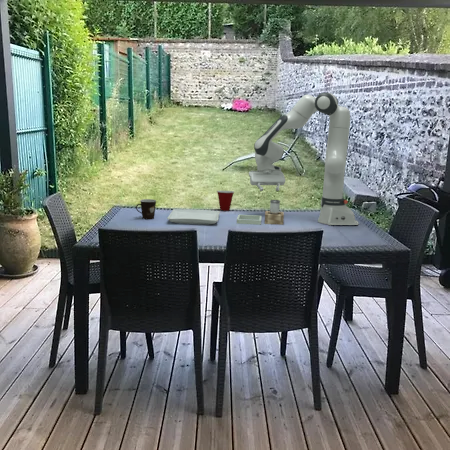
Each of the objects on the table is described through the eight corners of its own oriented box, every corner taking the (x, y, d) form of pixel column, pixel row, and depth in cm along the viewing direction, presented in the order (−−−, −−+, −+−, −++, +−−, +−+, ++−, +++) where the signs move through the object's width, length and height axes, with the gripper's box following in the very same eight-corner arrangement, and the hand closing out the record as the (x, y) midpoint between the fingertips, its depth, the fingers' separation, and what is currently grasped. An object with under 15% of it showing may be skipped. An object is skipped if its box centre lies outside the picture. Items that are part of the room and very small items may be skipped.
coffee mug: (154, 216, 288) (154, 199, 285) (157, 219, 280) (157, 201, 278) (133, 217, 284) (133, 199, 282) (136, 220, 276) (136, 202, 274)
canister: (278, 221, 281) (279, 200, 278) (278, 223, 276) (280, 201, 273) (269, 220, 281) (270, 199, 279) (269, 222, 276) (270, 201, 274)
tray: (261, 221, 284) (261, 215, 284) (260, 226, 272) (261, 220, 271) (238, 220, 285) (238, 214, 285) (236, 225, 273) (236, 219, 272)
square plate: (217, 227, 269) (218, 219, 268) (166, 225, 270) (166, 217, 269) (220, 216, 296) (220, 209, 295) (173, 214, 296) (173, 208, 295)
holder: (282, 222, 283) (283, 211, 282) (283, 226, 274) (283, 215, 272) (264, 221, 284) (265, 210, 283) (264, 225, 275) (265, 214, 273)
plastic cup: (234, 208, 317) (235, 189, 315) (232, 212, 307) (233, 192, 304) (217, 207, 318) (217, 188, 316) (215, 211, 308) (215, 191, 305)
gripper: (249, 167, 287) (253, 187, 280) (283, 167, 292) (288, 187, 285) (246, 174, 293) (250, 193, 286) (280, 174, 297) (285, 193, 290)
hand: (269, 190), depth 285 cm, fingers open, 8 cm apart
